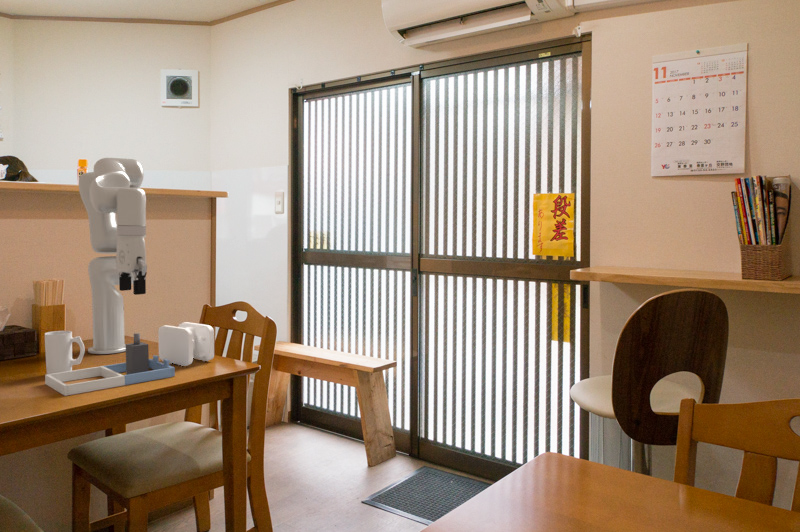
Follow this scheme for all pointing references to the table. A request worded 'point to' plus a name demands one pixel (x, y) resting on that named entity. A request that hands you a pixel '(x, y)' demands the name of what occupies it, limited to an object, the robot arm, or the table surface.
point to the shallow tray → (107, 377)
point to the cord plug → (137, 356)
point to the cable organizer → (186, 343)
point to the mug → (61, 351)
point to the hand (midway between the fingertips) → (132, 292)
